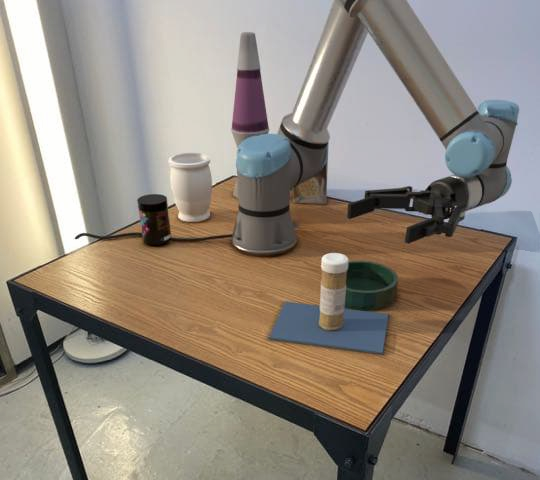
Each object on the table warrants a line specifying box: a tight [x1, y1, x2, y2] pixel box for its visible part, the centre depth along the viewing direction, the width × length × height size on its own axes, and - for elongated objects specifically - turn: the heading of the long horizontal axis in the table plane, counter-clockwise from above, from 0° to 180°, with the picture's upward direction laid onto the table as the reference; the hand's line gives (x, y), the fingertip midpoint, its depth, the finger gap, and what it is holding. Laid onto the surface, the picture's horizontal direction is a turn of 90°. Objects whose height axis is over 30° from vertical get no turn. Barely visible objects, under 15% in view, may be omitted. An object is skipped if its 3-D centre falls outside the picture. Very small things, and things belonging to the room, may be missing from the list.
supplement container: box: [136, 193, 172, 248], centre depth 132 cm, size 7×7×10 cm
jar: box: [167, 152, 213, 223], centre depth 143 cm, size 11×10×15 cm
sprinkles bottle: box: [319, 252, 349, 331], centre depth 100 cm, size 5×5×13 cm
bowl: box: [344, 260, 399, 312], centre depth 113 cm, size 14×14×4 cm
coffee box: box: [292, 141, 330, 205], centre depth 153 cm, size 9×6×16 cm
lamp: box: [230, 31, 270, 199], centre depth 150 cm, size 11×11×40 cm
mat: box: [268, 301, 390, 355], centre depth 104 cm, size 20×13×1 cm, turn 76°
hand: (376, 223), depth 99 cm, fingers open, 13 cm apart
